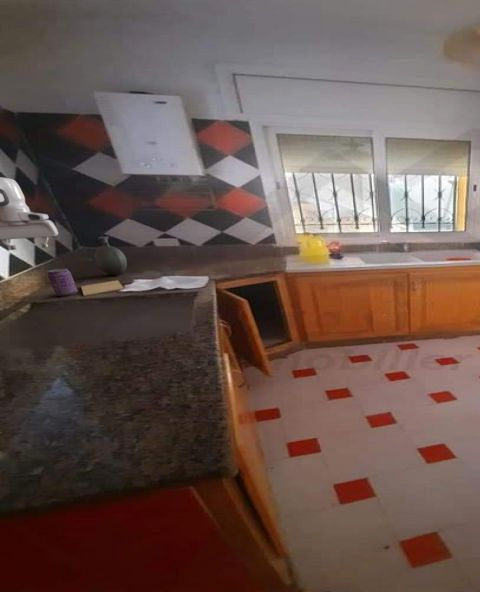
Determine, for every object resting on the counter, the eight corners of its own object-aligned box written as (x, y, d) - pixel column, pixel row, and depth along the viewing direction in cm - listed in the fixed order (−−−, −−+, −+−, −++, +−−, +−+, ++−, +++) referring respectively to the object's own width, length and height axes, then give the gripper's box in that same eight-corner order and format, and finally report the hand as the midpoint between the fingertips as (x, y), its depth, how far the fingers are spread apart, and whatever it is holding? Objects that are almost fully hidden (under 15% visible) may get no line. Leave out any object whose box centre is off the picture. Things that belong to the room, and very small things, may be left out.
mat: (84, 295, 148) (83, 294, 147) (81, 287, 160) (80, 286, 160) (123, 288, 157) (123, 287, 157) (118, 281, 170) (117, 280, 170)
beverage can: (66, 292, 153) (56, 268, 149) (82, 291, 153) (73, 267, 149) (52, 297, 146) (41, 272, 142) (68, 296, 147) (58, 271, 143)
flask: (106, 279, 173) (91, 239, 165) (99, 274, 182) (84, 236, 175) (133, 275, 182) (120, 236, 174) (125, 270, 191) (113, 234, 184)
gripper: (-27, 218, 127) (-11, 252, 131) (48, 215, 138) (60, 246, 142) (-19, 217, 131) (-4, 250, 136) (52, 214, 143) (64, 245, 147)
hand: (29, 248), depth 139 cm, fingers open, 8 cm apart
